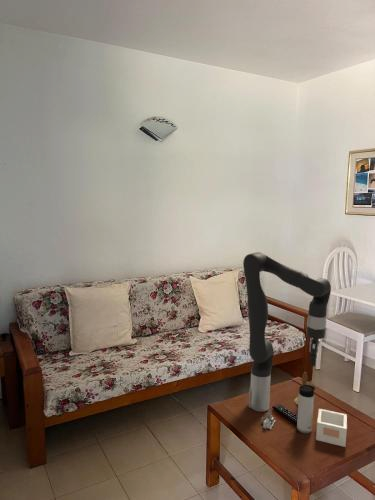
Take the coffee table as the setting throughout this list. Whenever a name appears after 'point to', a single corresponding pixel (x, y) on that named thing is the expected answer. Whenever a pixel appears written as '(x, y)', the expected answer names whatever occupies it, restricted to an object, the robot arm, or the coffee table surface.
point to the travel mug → (305, 408)
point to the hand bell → (304, 381)
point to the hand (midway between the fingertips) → (313, 361)
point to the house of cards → (268, 420)
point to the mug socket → (332, 427)
